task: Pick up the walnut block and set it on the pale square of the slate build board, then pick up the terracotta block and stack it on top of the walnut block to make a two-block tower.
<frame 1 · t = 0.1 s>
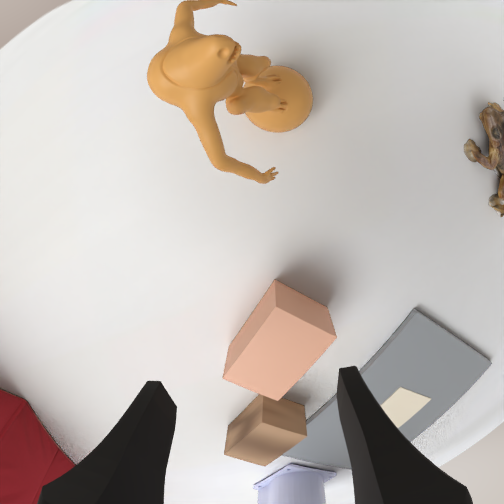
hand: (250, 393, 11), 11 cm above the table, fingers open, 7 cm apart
build board: (388, 413, 25), on the table
frog figurine: (497, 158, 17), on the table
walnut block: (264, 415, 26), on the table
storage cube: (18, 426, 35), on the table
figurine: (260, 107, 17), on the table
terracotta block: (276, 327, 22), on the table
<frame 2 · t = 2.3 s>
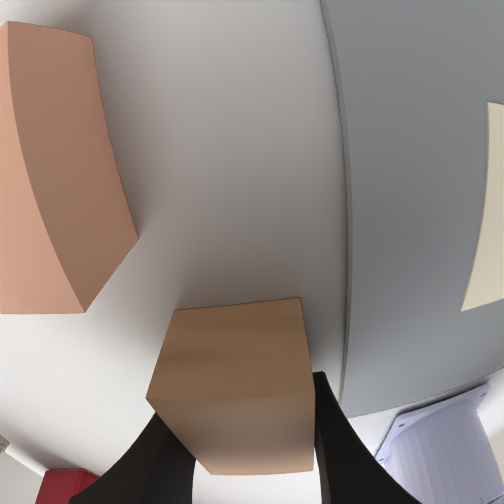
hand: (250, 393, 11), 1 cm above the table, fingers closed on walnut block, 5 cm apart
walnut block: (250, 366, 12), on the table, touching gripper
storage cube: (121, 496, 35), on the table
terracotta block: (59, 156, 8), on the table
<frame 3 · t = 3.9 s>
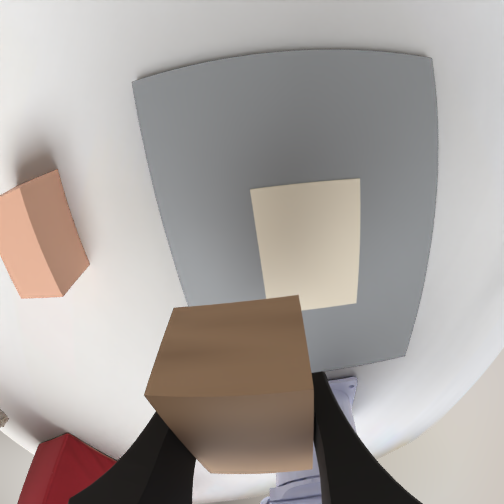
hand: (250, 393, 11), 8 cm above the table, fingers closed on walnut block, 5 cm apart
build board: (309, 247, 17), on the table
walnut block: (249, 364, 12), point 7 cm above the table, touching gripper
storage cube: (101, 466, 44), on the table
terracotta block: (51, 223, 17), on the table
when the fingers open (3 cm above the table, at t = 5.7 s): walnut block stays where it is, resting on build board.
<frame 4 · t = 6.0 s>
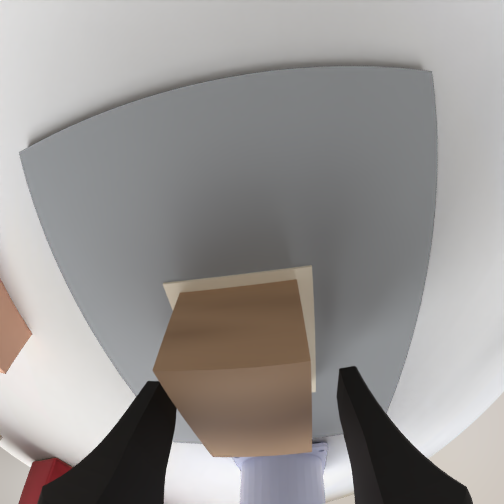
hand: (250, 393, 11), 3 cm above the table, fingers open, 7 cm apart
build board: (251, 339, 13), on the table
walnut block: (251, 348, 13), point 1 cm above the table, touching build board
storage cube: (92, 484, 41), on the table
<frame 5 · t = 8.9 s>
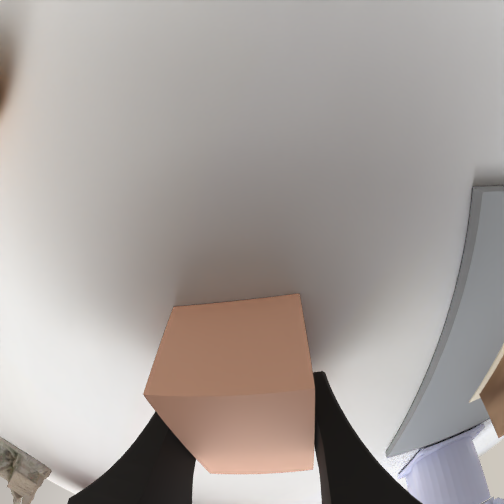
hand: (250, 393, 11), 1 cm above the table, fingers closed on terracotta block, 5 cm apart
ceramic cottage: (19, 450, 34), on the table
terracotta block: (250, 363, 12), on the table, touching gripper
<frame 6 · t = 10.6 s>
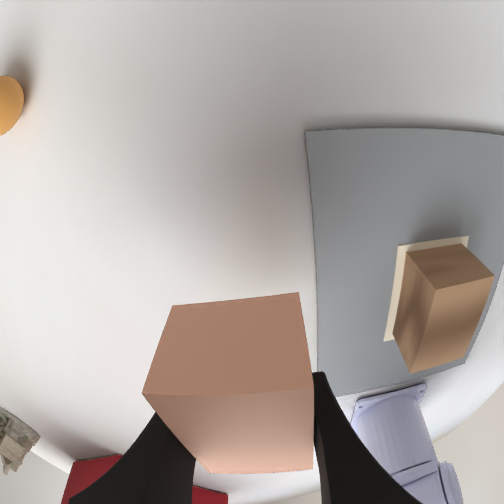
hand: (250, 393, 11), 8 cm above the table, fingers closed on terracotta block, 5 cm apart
build board: (422, 287, 18), on the table
walnut block: (427, 291, 17), point 1 cm above the table, touching build board
storage cube: (143, 480, 45), on the table
figurine: (13, 115, 13), on the table
ceramic cottage: (11, 418, 40), on the table
terracotta block: (249, 363, 12), point 7 cm above the table, touching gripper
when the fingers open (7 cm above the table, at t = 12.1 s): terracotta block stays where it is, resting on walnut block.
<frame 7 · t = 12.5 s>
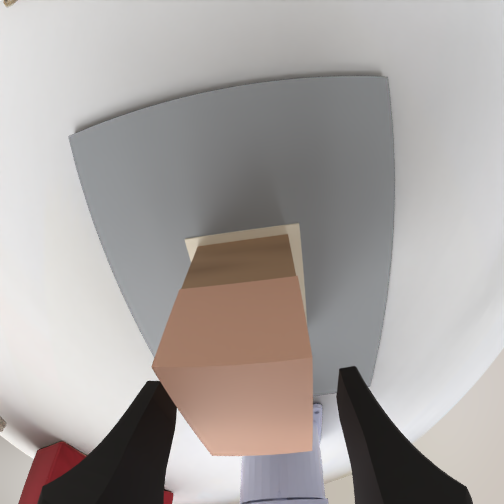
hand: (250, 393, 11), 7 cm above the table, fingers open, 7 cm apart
build board: (253, 290, 17), on the table
walnut block: (253, 296, 16), point 1 cm above the table, touching build board, terracotta block
storage cube: (96, 471, 44), on the table
terracotta block: (251, 346, 13), point 5 cm above the table, touching walnut block
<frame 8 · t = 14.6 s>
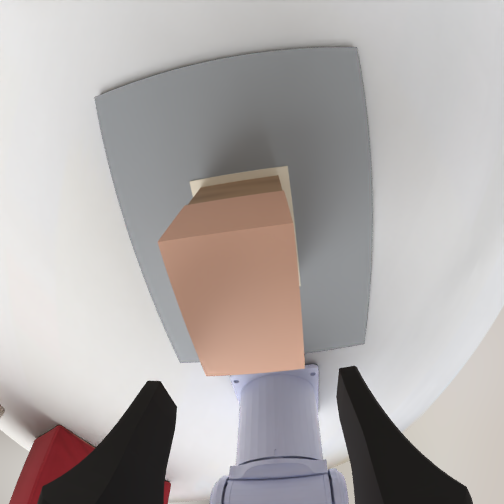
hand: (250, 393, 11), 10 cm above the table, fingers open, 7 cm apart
build board: (249, 232, 19), on the table
walnut block: (248, 235, 18), point 1 cm above the table, touching build board, terracotta block
storage cube: (93, 461, 45), on the table
terracotta block: (245, 265, 15), point 5 cm above the table, touching walnut block
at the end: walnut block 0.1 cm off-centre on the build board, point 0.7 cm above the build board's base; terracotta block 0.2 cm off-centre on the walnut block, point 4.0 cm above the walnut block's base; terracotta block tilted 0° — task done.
